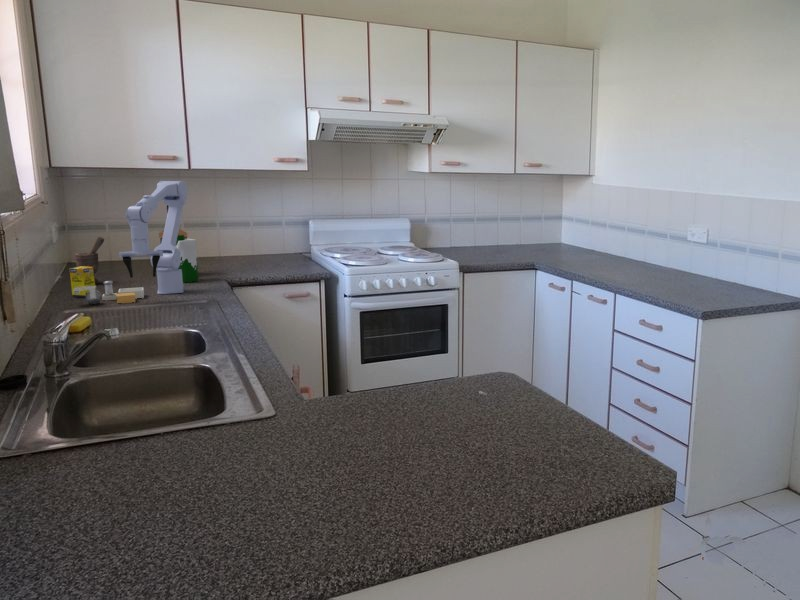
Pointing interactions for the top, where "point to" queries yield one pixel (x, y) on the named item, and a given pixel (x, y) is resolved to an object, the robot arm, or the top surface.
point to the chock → (126, 298)
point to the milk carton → (188, 258)
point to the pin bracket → (109, 297)
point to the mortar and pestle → (90, 257)
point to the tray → (138, 291)
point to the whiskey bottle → (180, 232)
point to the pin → (108, 288)
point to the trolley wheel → (90, 294)
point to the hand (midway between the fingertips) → (143, 276)
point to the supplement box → (81, 279)
